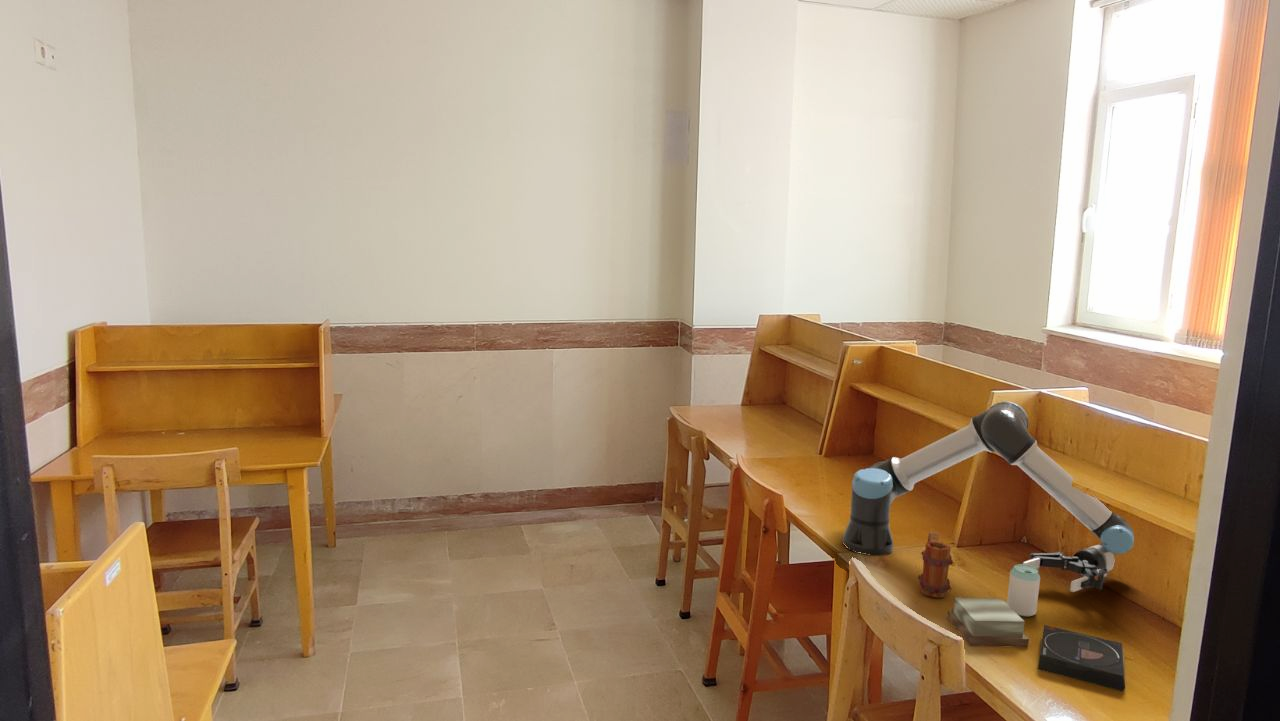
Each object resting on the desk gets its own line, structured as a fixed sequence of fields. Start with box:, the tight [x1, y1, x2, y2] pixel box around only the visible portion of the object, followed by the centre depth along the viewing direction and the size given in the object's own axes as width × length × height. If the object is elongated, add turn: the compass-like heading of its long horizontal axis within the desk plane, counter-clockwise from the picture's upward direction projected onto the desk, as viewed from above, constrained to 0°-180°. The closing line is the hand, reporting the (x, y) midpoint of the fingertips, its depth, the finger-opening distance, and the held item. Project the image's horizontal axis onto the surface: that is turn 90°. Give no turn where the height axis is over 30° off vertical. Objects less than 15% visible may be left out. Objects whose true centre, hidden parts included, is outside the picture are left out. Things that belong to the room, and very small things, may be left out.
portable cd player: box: [1037, 624, 1126, 692], centre depth 189 cm, size 16×17×4 cm
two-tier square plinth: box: [946, 597, 1030, 648], centre depth 202 cm, size 14×14×6 cm
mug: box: [917, 531, 954, 598], centre depth 224 cm, size 15×8×15 cm, turn 168°
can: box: [1006, 563, 1041, 618], centre depth 213 cm, size 7×7×12 cm
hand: (1047, 576), depth 218 cm, fingers open, 13 cm apart
